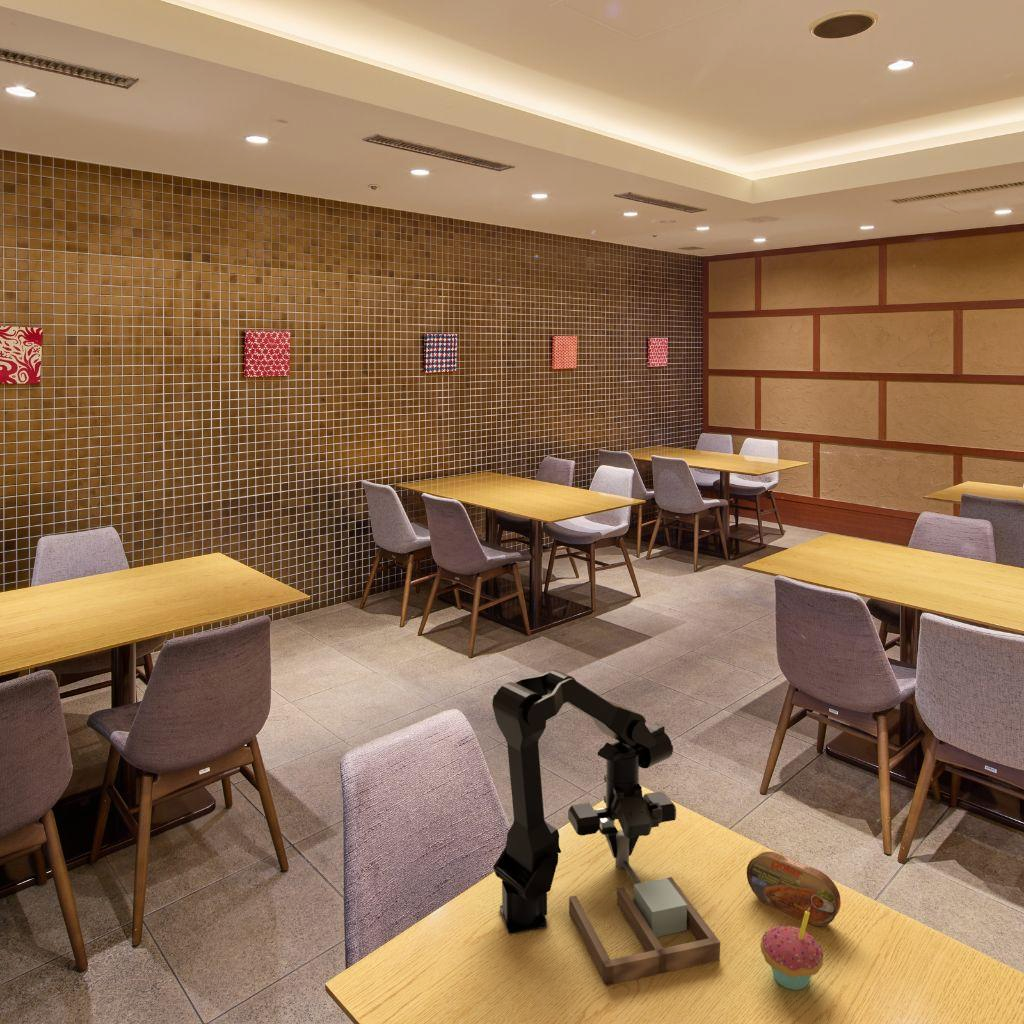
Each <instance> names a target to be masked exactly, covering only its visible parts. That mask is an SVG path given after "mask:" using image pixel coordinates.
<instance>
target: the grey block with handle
mask: <svg viewBox="0 0 1024 1024" xmlns="http://www.w3.org/2000/svg"><path fill="white" fill-rule="evenodd" d="M616 840H617V858H615V862H614V863H615V866H616V868H618V869H625V871H626V872H627V874H628V875H629V877H630V879H632V881H633V883H634V884H633V899H632V900H633V902H634V903H635V905H636V907H637V908H638V910H639V911H640V913H641V914H642V916H643V918H644V919H645V921H646V922H647V924H648V925H649V927H650V928H651V930H652V932H653V933H654V935H655V936H656V938H657V937H662V936H666V935H671V934H674V933H675V934H676V933H681V932H684V931H687V928H688V926H687V904H686V903H685V901H684V900H683V899H682V897H681V896H680V895H679V893H678V892H677V891H676V889H675V888H674V887H673V885H672V884H671V883H670V881H669V880H668V879H667V878H668V877H663V878H659V879H654V880H653V879H652V880H650V881H644V882H642V880H640V878H639V877H638V875H637V874H636V872H635V871H634V869H633V868H632V866H631V865H630V856H629V838H627V837H626V836H625V835H624V833H623V830H622V829H620V830H618V833H617V834H616Z"/></svg>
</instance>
